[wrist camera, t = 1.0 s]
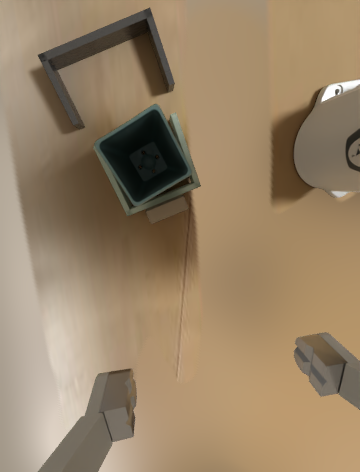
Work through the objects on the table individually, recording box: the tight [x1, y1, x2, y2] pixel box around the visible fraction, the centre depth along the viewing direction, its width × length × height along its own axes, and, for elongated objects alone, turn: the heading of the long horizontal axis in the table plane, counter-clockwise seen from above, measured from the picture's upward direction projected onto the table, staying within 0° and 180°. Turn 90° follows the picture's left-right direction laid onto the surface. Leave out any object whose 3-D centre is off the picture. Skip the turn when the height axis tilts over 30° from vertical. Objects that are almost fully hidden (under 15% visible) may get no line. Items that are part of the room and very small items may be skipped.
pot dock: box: [38, 8, 175, 129], centre depth 27 cm, size 15×8×2 cm, turn 111°
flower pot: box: [94, 104, 192, 207], centre depth 28 cm, size 9×9×9 cm
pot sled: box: [93, 113, 201, 224], centre depth 29 cm, size 13×13×6 cm
